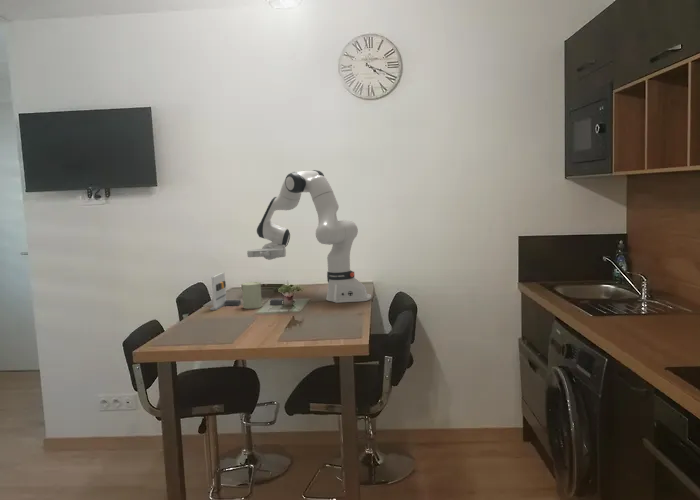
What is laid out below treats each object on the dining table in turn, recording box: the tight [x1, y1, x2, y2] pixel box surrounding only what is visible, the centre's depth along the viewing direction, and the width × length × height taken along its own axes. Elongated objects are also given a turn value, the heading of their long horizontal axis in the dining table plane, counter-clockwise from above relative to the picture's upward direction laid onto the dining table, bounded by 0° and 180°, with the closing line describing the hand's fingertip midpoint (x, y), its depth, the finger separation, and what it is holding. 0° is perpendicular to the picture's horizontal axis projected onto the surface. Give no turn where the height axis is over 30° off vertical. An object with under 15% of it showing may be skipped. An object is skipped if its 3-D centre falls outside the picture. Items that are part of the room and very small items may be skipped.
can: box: [241, 281, 263, 310], centre depth 283 cm, size 9×9×12 cm
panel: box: [209, 272, 227, 311], centre depth 286 cm, size 4×14×16 cm, turn 172°
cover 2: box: [269, 298, 284, 306], centre depth 286 cm, size 6×3×3 cm, turn 82°
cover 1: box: [224, 299, 242, 307], centre depth 290 cm, size 7×3×3 cm, turn 82°
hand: (262, 254), depth 302 cm, fingers closed
